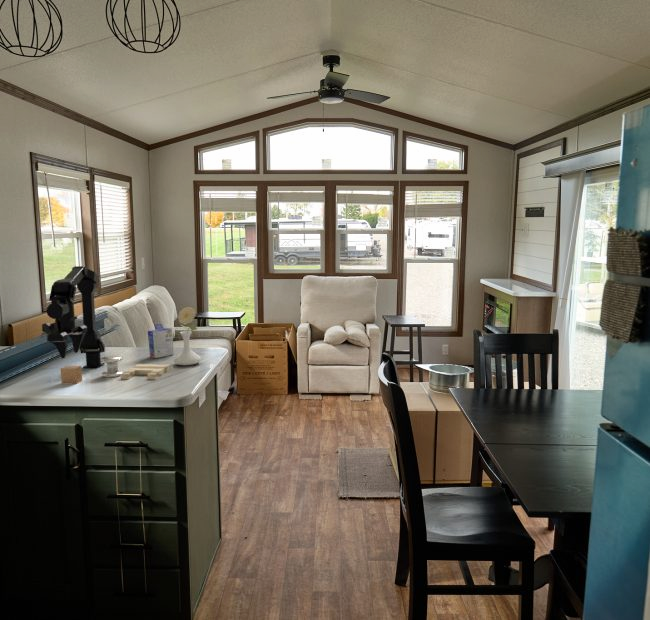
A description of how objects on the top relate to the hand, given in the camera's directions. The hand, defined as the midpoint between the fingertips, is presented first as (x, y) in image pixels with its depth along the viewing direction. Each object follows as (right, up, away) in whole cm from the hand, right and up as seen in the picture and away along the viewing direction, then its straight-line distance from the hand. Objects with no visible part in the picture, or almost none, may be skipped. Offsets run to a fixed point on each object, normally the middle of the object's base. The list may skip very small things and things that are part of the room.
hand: (69, 355), depth 216 cm
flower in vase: (+39, -6, +27) cm, 47 cm away
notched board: (+25, -8, +12) cm, 29 cm away
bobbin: (+12, -9, +11) cm, 19 cm away
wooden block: (0, -11, +2) cm, 11 cm away
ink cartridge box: (+22, -4, +44) cm, 50 cm away
